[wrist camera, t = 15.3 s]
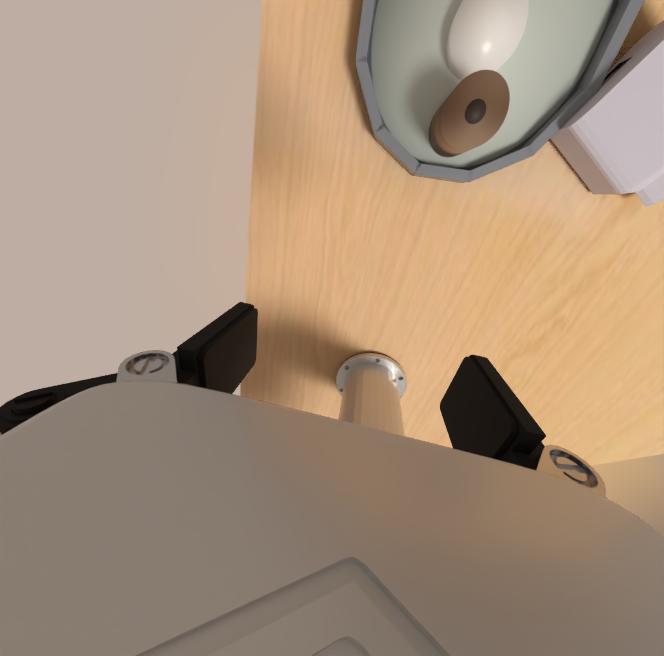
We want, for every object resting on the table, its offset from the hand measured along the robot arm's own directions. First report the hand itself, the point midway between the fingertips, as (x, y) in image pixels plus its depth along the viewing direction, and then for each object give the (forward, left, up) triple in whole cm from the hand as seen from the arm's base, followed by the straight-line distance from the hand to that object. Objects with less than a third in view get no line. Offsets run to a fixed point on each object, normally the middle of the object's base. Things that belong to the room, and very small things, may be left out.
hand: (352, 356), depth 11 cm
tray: (+20, -7, -26) cm, 33 cm away
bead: (+13, -7, -25) cm, 29 cm away
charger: (+14, -25, -26) cm, 39 cm away
